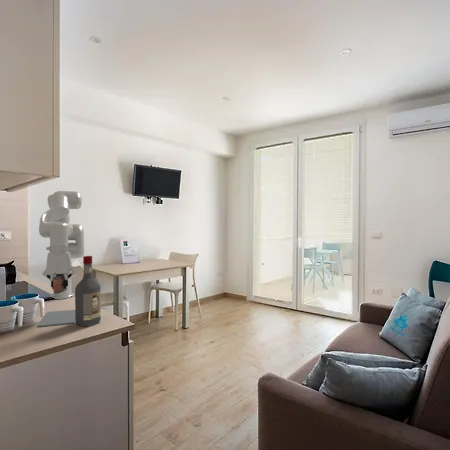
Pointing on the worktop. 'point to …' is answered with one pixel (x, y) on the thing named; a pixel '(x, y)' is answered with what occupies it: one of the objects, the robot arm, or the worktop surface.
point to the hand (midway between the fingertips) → (59, 287)
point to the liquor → (87, 297)
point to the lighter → (58, 283)
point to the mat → (58, 318)
